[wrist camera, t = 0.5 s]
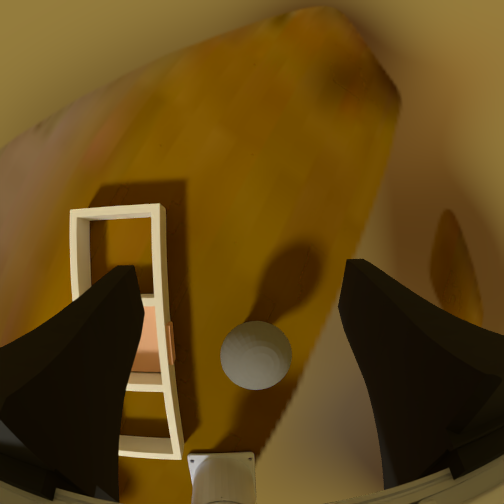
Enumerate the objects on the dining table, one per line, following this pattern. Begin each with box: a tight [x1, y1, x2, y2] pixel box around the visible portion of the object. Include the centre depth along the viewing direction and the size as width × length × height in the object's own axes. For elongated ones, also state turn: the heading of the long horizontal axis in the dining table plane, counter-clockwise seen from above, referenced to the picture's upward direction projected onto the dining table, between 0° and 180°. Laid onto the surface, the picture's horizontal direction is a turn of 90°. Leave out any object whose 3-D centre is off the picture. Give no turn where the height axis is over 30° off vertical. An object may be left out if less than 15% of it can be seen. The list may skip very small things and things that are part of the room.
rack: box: [70, 203, 184, 460], centre depth 30 cm, size 27×10×4 cm, turn 2°
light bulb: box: [221, 321, 292, 390], centre depth 28 cm, size 6×6×10 cm
